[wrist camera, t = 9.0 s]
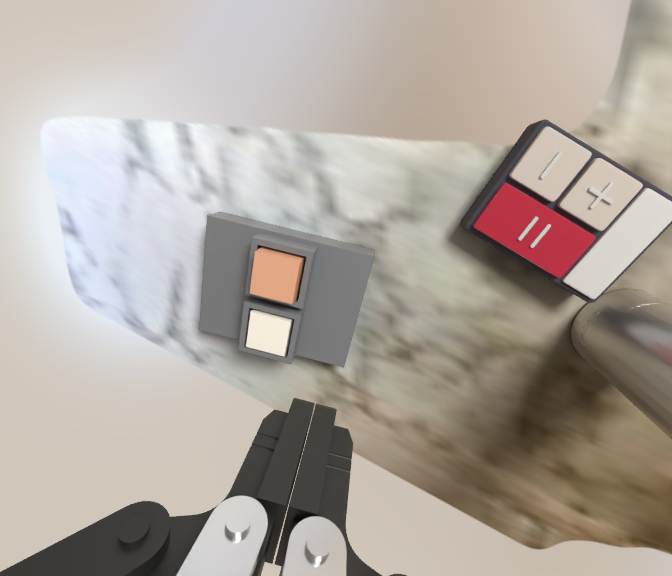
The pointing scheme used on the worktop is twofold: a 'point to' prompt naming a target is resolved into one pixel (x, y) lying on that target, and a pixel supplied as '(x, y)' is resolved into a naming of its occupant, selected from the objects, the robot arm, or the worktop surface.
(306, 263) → the push button base
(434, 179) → the worktop surface
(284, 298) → the peach key
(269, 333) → the cream key
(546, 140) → the calculator
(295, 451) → the robot arm
